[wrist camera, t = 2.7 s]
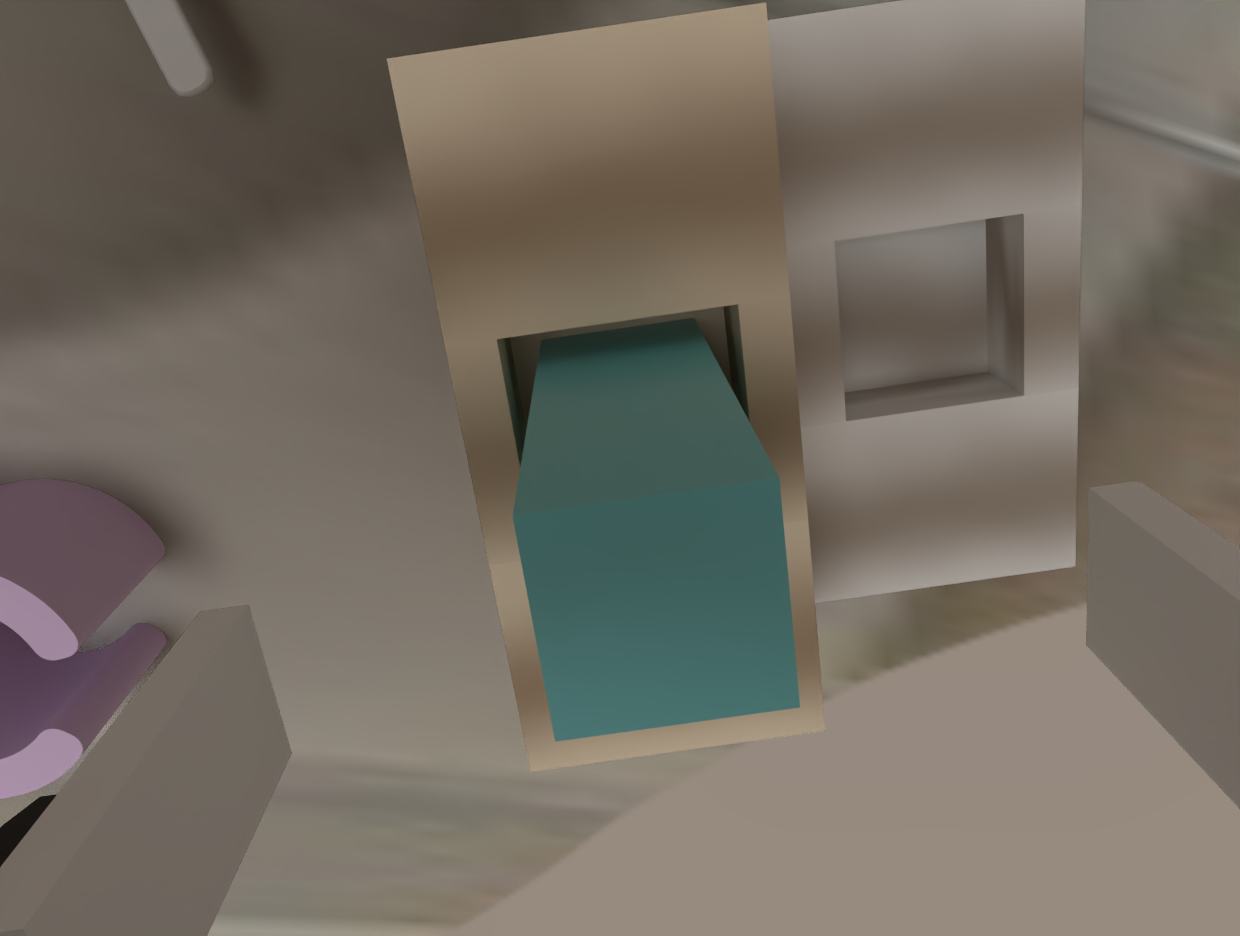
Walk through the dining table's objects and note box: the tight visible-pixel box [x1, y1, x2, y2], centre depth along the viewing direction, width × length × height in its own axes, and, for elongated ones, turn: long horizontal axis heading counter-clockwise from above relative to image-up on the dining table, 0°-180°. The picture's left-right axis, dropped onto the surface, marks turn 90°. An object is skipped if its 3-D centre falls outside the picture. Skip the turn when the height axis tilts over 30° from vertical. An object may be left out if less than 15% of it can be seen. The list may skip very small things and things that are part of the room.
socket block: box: [387, 0, 1085, 772], centre depth 29 cm, size 18×18×11 cm
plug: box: [512, 318, 800, 742], centre depth 21 cm, size 5×4×12 cm
